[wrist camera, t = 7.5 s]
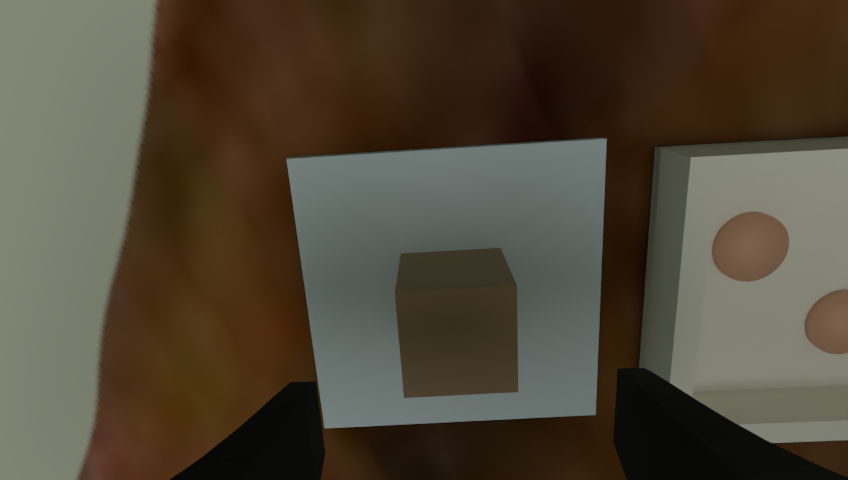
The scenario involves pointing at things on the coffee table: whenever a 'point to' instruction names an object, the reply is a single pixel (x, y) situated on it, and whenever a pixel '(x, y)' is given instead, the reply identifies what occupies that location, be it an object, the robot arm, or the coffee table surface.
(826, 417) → the box
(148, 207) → the coffee table surface
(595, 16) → the coffee table surface
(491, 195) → the lid
